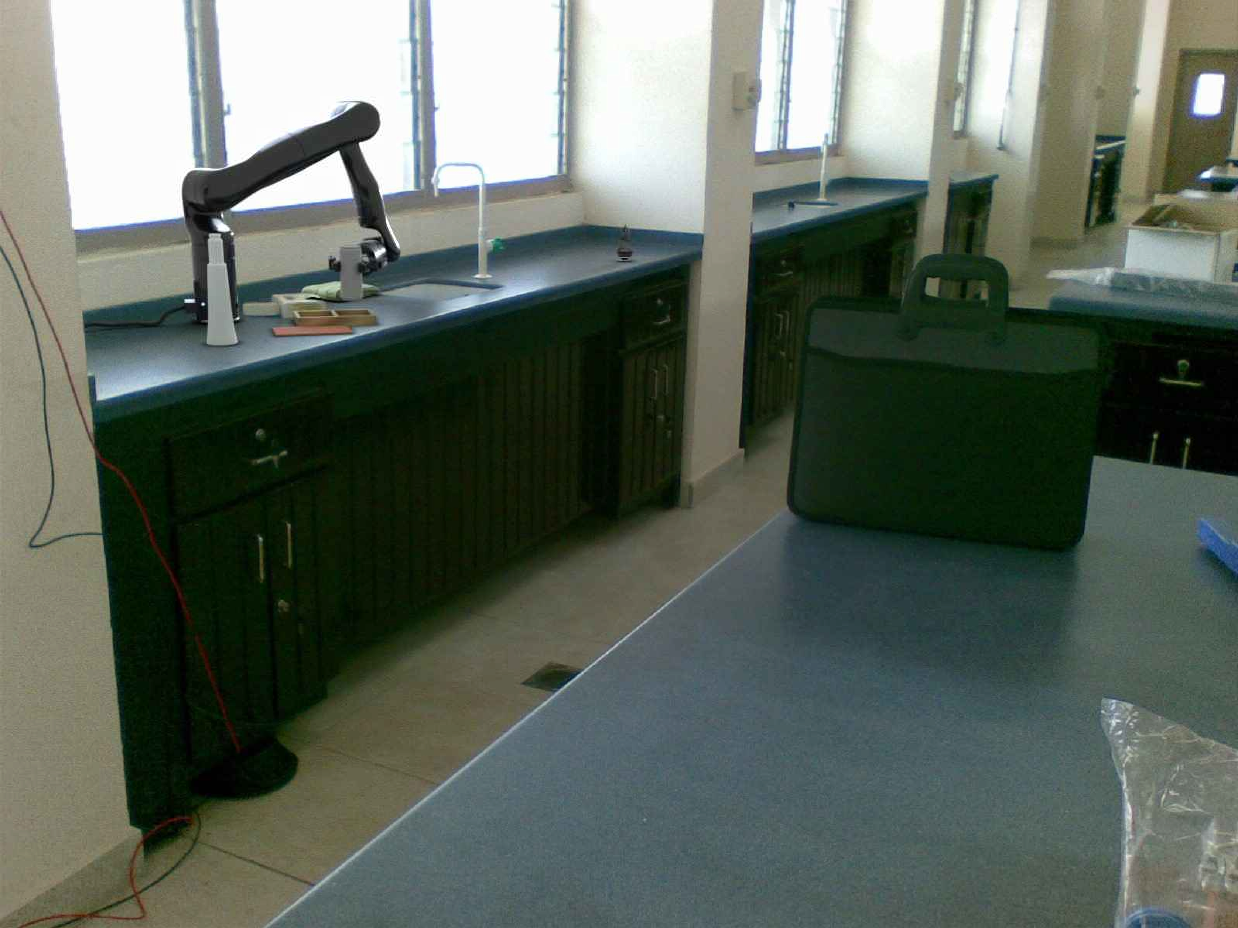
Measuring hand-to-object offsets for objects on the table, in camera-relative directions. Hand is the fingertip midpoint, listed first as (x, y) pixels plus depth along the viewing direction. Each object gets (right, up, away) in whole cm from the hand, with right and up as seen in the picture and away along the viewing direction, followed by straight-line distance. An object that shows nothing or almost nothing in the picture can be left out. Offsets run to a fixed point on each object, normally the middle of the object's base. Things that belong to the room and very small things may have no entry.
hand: (348, 267), depth 266 cm
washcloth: (-11, -1, +42) cm, 44 cm away
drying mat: (-6, -15, -6) cm, 17 cm away
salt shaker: (+62, +23, +131) cm, 147 cm away
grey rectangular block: (0, -7, +5) cm, 8 cm away
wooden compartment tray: (-4, -12, +5) cm, 13 cm away
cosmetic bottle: (-21, -19, -21) cm, 35 cm away
